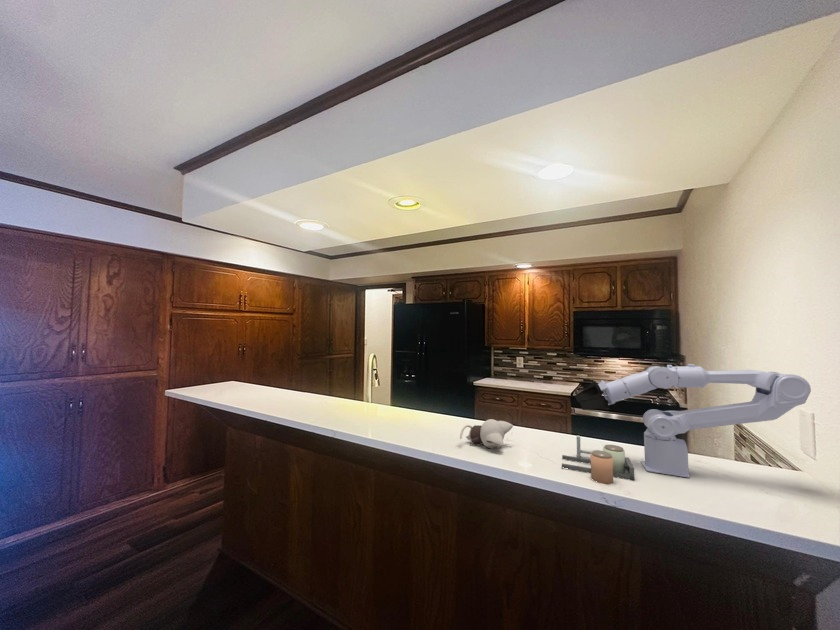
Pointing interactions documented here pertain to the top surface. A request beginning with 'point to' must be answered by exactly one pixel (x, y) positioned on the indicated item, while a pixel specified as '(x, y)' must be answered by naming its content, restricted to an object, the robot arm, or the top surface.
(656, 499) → the top surface
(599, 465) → the jar
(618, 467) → the jar
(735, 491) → the top surface
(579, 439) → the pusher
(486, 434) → the toy
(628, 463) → the lane
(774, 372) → the robot arm
